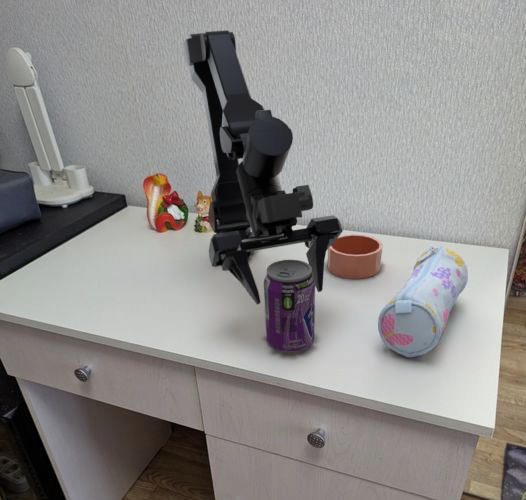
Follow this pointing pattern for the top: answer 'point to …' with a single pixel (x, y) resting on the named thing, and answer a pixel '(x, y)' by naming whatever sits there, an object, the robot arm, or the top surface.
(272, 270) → the beverage can
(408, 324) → the pencil case
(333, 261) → the can holder
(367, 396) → the top surface
